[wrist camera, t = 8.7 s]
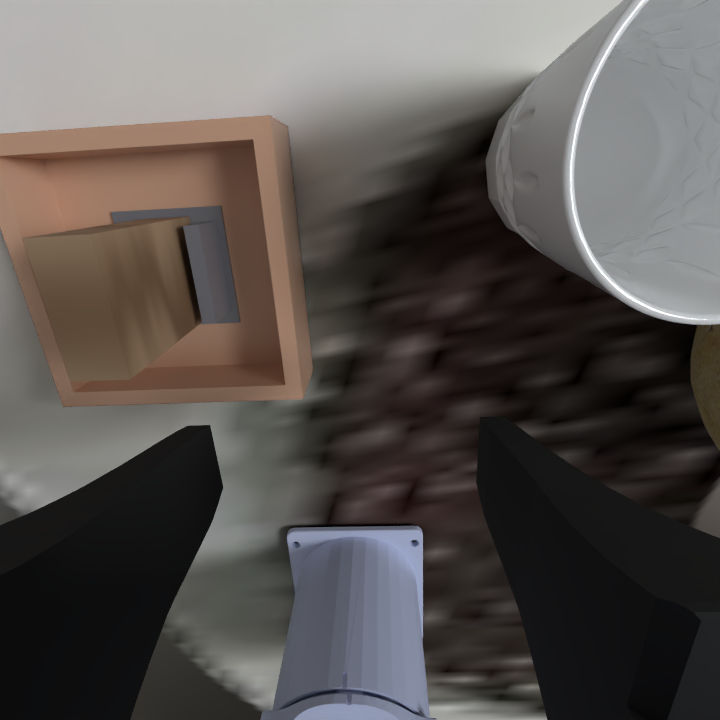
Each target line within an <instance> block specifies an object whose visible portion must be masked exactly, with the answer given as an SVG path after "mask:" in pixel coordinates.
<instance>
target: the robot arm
mask: <svg viewBox="0 0 720 720" xmlns="http://www.w3.org/2000/svg"><path fill="white" fill-rule="evenodd" d="M477 487H478V491H479V496H480V500H481V504H482V508H483V512H484V516H485V519H486V522H487V525H488V527H489V530H490V533H491V536H492V538H493V541H494V544H495V546H496V549H497V552H498V554H499V557H500V560H501V562H502V565H503V567H504V570H505V573H506V575H507V578H508V581H509V583H510V586H511V589H512V591H513V594H514V597H515V600H516V603H517V606H518V609H519V612H520V615H521V619H522V622H523V626H524V630H525V633H526V637H527V641H528V645H529V648H530V652H531V656H532V660H533V664H534V667H535V671H536V675H537V679H538V683H539V687H540V691H541V695H542V699H543V703H544V707H545V711H546V715H547V720H720V538H718V537H715V536H712V535H710V534H707V533H705V532H702V531H700V530H697V529H695V528H692V527H690V526H687V525H685V524H683V523H681V522H678V521H676V520H674V519H672V518H669V517H667V516H665V515H663V514H660V513H658V512H656V511H654V510H651V509H649V508H647V507H645V506H643V505H641V504H639V503H637V502H635V501H633V500H631V499H629V498H627V497H625V496H624V495H622V494H620V493H618V492H616V491H614V490H612V489H610V488H609V487H607V486H605V485H603V484H602V483H600V482H598V481H596V480H595V479H593V478H591V477H590V476H588V475H587V474H585V473H583V472H582V471H580V470H579V469H577V468H575V467H574V466H572V465H571V464H569V463H568V462H566V461H565V460H563V459H562V458H560V457H559V456H557V455H556V454H555V453H553V452H552V451H550V450H549V449H548V448H546V447H545V446H543V445H542V444H541V443H539V442H538V441H537V440H535V439H534V438H533V437H531V436H530V435H529V434H527V433H526V432H525V431H523V430H522V429H521V428H519V427H518V426H517V425H515V424H514V423H513V422H511V421H510V420H508V419H507V418H505V417H480V428H479V446H478V464H477ZM222 489H223V484H222V479H221V475H220V470H219V465H218V461H217V456H216V451H215V446H214V442H213V437H212V432H211V428H210V425H200V426H187V427H185V428H183V429H181V430H179V431H177V432H175V433H173V434H171V435H170V436H168V437H166V438H165V439H163V440H161V441H160V442H158V443H157V444H155V445H153V446H152V447H150V448H148V449H147V450H145V451H144V452H142V453H140V454H139V455H137V456H135V457H134V458H132V459H130V460H129V461H127V462H126V463H124V464H122V465H121V466H119V467H117V468H115V469H114V470H112V471H110V472H108V473H107V474H105V475H103V476H101V477H100V478H98V479H96V480H94V481H92V482H91V483H89V484H87V485H85V486H84V487H82V488H80V489H78V490H76V491H74V492H72V493H70V494H68V495H66V496H64V497H62V498H60V499H58V500H56V501H54V502H52V503H50V504H48V505H46V506H44V507H42V508H40V509H37V510H35V511H33V512H31V513H29V514H26V515H24V516H22V517H19V518H17V519H15V520H12V521H9V522H7V523H5V524H2V525H0V720H130V718H131V715H132V712H133V709H134V706H135V703H136V700H137V697H138V694H139V691H140V689H141V686H142V683H143V680H144V677H145V674H146V671H147V668H148V665H149V662H150V660H151V657H152V654H153V651H154V649H155V646H156V643H157V640H158V638H159V635H160V633H161V630H162V627H163V625H164V622H165V619H166V617H167V614H168V612H169V610H170V608H171V605H172V603H173V601H174V599H175V597H176V595H177V593H178V590H179V588H180V586H181V584H182V582H183V580H184V578H185V576H186V574H187V572H188V570H189V568H190V566H191V564H192V562H193V560H194V558H195V556H196V554H197V552H198V550H199V548H200V546H201V544H202V542H203V540H204V537H205V535H206V533H207V531H208V529H209V527H210V525H211V523H212V520H213V517H214V515H215V512H216V509H217V506H218V503H219V499H220V496H221V493H222ZM412 540H417V541H415V542H412ZM294 542H298V543H294ZM287 543H288V550H289V556H290V563H291V570H292V576H293V583H294V589H295V599H294V604H293V609H292V614H291V619H290V624H289V629H288V634H287V639H286V644H285V649H284V654H283V659H282V664H281V669H280V674H279V679H278V684H277V689H276V694H275V699H274V705H273V710H270V711H263V712H262V716H261V720H437V719H435V718H430V714H429V703H428V693H427V683H426V673H425V663H424V653H423V643H422V638H423V533H422V530H421V528H420V527H418V526H366V527H304V528H291V529H290V530H289V531H288V533H287Z"/></svg>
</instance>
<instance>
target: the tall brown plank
mask: <svg viewBox="0 0 720 720" xmlns="http://www.w3.org/2000/svg"><path fill="white" fill-rule="evenodd" d="M189 224H191V223H190V218H189V216H187V217H169V218H151V219H140V220H134V221H128V222H121V223H115V224H109V225H102V226H96V227H90V228H83V229H77V230H70V231H64V232H58V233H51V234H45V235H39V236H32V237H26V238H22V239H23V242H24V245H25V248H26V251H27V254H28V257H29V260H30V263H31V266H32V269H33V272H34V275H35V278H36V281H37V284H38V287H39V290H40V293H41V296H42V299H43V302H44V305H45V308H46V311H47V314H48V317H49V320H50V323H51V326H52V329H53V332H54V335H55V338H56V341H57V344H58V347H59V349H60V352H61V355H62V358H63V361H64V364H65V367H66V370H67V373H68V376H69V379H70V382H76V381H104V380H130V379H132V378H133V377H134V376H135V375H137V374H138V373H139V372H140V371H142V370H143V369H144V368H145V367H147V366H148V365H149V364H150V363H152V362H153V361H154V360H155V359H157V358H158V357H159V356H160V355H162V354H163V353H164V352H165V351H167V350H168V349H169V348H170V347H172V346H173V345H174V344H175V343H177V342H178V341H179V340H180V339H182V338H183V337H184V336H185V335H187V334H188V333H189V332H190V331H192V330H193V329H194V328H195V327H197V326H198V325H199V324H200V323H202V319H201V314H200V309H199V304H198V299H197V294H196V289H195V284H194V279H193V274H192V269H191V264H190V258H189V253H188V248H187V243H186V238H185V233H184V228H183V226H185V225H189Z"/></svg>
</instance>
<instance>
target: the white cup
mask: <svg viewBox="0 0 720 720" xmlns="http://www.w3.org/2000/svg"><path fill="white" fill-rule="evenodd" d="M485 163H486V174H487V186H488V198H489V200H490V201H491V203H492V205H493V206H494V208H495V210H496V211H497V213H498V214H499V216H500V218H501V219H502V221H503V223H504V224H505V226H506V227H507V228H508V229H510V230H511V231H513V232H515V233H517V234H518V235H520V236H521V237H522V238H523V239H524V240H525V241H526V242H527V243H529V244H530V245H531V246H532V247H533V248H535V249H537V250H538V251H539V252H541V253H542V254H544V255H545V256H547V257H548V258H550V259H552V260H553V261H554V262H556V263H557V264H559V265H560V266H562V267H563V268H565V269H567V270H569V271H571V272H573V273H574V274H576V275H578V276H580V277H582V278H583V279H585V280H587V281H588V282H590V283H591V284H593V285H595V286H596V287H598V288H599V289H601V290H603V291H605V292H606V293H608V294H610V295H611V296H613V297H615V298H616V299H618V300H620V301H621V302H623V303H625V304H626V305H628V306H630V307H632V308H633V309H635V310H638V311H640V312H642V313H644V314H647V315H649V316H652V317H655V318H658V319H662V320H666V321H670V322H676V323H683V324H693V325H716V324H720V0H623V1H622V2H621V3H620V4H619V5H617V6H616V7H615V8H614V9H613V10H611V11H610V12H609V13H608V14H607V15H605V16H604V17H603V18H602V19H601V20H599V21H598V22H597V23H596V24H595V25H594V26H592V27H591V28H590V29H589V30H588V31H586V32H585V33H584V34H583V35H582V36H580V37H579V38H578V39H577V40H576V41H575V42H573V43H572V44H571V45H570V46H569V47H568V48H567V49H566V50H565V51H564V52H563V53H562V54H561V55H560V56H559V57H558V58H556V59H555V60H554V61H553V62H552V63H551V64H550V65H549V66H548V67H547V68H546V69H544V70H543V71H542V72H541V73H540V74H539V75H538V76H537V77H536V78H535V79H534V80H533V81H532V83H531V84H530V85H528V86H527V87H526V89H525V90H524V91H523V92H522V93H521V94H520V96H519V97H518V98H517V99H516V100H515V101H514V103H513V104H512V105H511V106H510V107H509V109H508V110H507V111H506V112H505V113H504V114H503V116H502V117H501V118H500V119H499V121H498V124H497V127H496V130H495V133H494V136H493V139H492V142H491V144H490V147H489V150H488V153H487V156H486V160H485Z"/></svg>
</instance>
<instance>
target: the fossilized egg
mask: <svg viewBox="0 0 720 720" xmlns="http://www.w3.org/2000/svg"><path fill="white" fill-rule="evenodd" d="M691 385H692V389H693V393H694V396H695V400H696V403H697V406H698V409H699V413H700V415H701V418H702V420H703V423H704V425H705V427H706V429H707V431H708V433H709V435H710V436H711V438H712V440H713V441H714V443H715V444H716V446H717V448H718V449H719V450H720V324H716V325H697V328H696V333H695V337H694V341H693V346H692V351H691Z"/></svg>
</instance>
